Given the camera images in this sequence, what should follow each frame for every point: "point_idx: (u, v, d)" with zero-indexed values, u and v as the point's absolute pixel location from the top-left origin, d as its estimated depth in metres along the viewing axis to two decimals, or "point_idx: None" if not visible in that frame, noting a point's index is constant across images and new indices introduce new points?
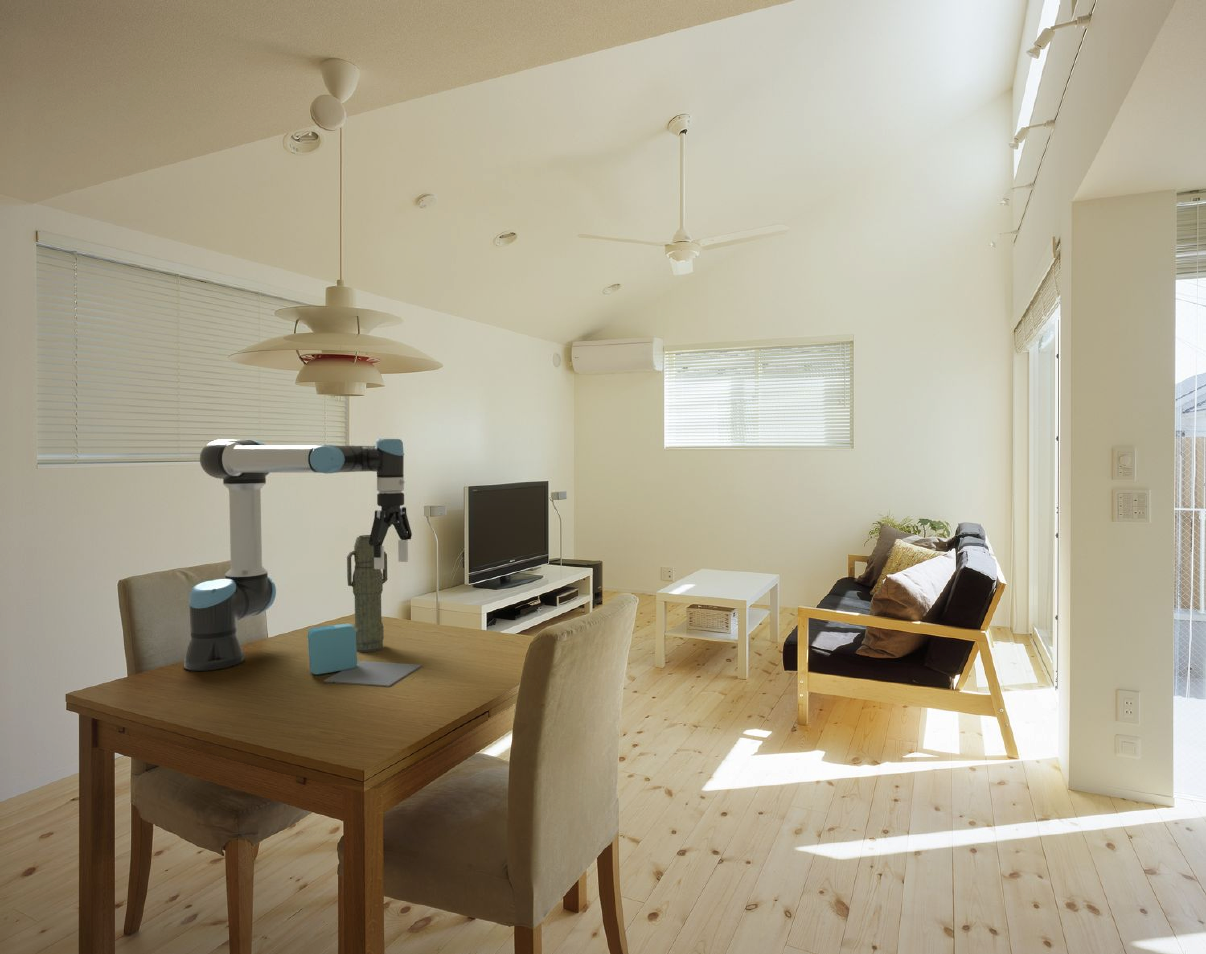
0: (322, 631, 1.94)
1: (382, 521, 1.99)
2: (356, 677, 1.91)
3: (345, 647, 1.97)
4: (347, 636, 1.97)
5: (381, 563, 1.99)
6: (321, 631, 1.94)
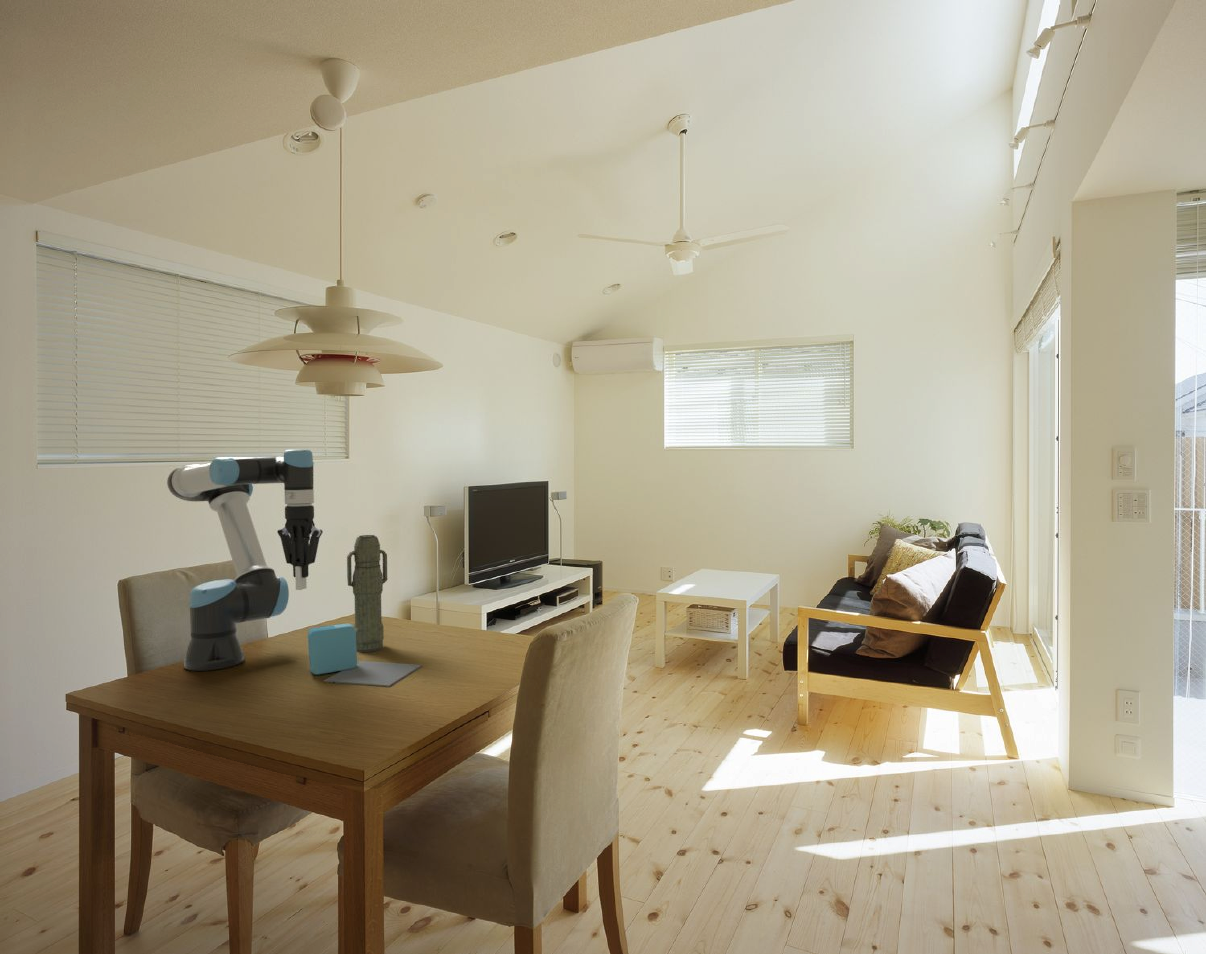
0: (322, 631, 1.94)
1: (282, 540, 1.99)
2: (356, 677, 1.91)
3: (345, 647, 1.97)
4: (347, 636, 1.97)
5: None
6: (321, 631, 1.94)
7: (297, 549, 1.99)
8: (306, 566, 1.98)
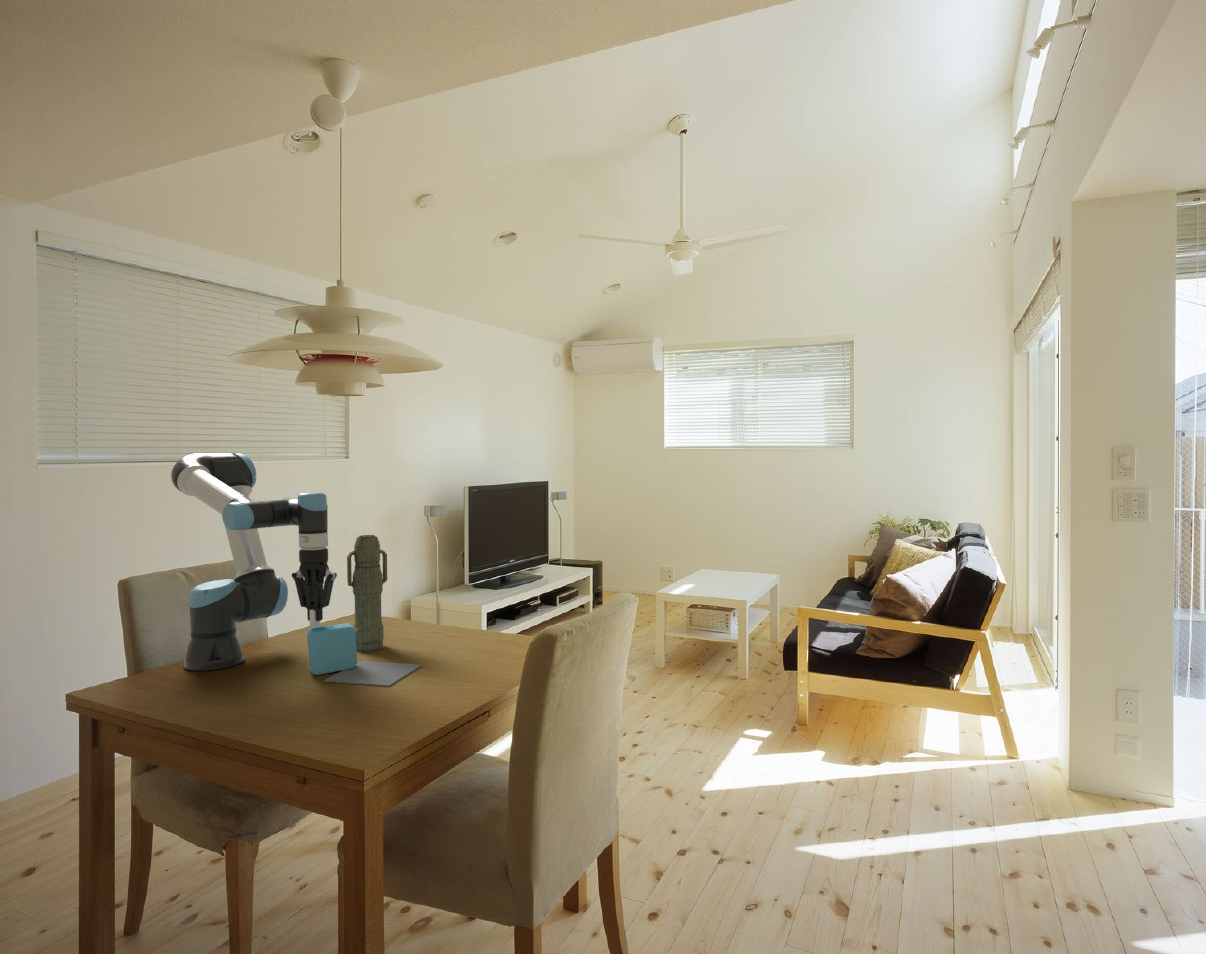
0: (322, 632, 1.94)
1: (297, 583, 1.98)
2: (356, 677, 1.91)
3: (345, 648, 1.97)
4: (347, 637, 1.97)
5: None
6: (321, 632, 1.94)
7: (311, 592, 1.98)
8: (320, 609, 1.98)
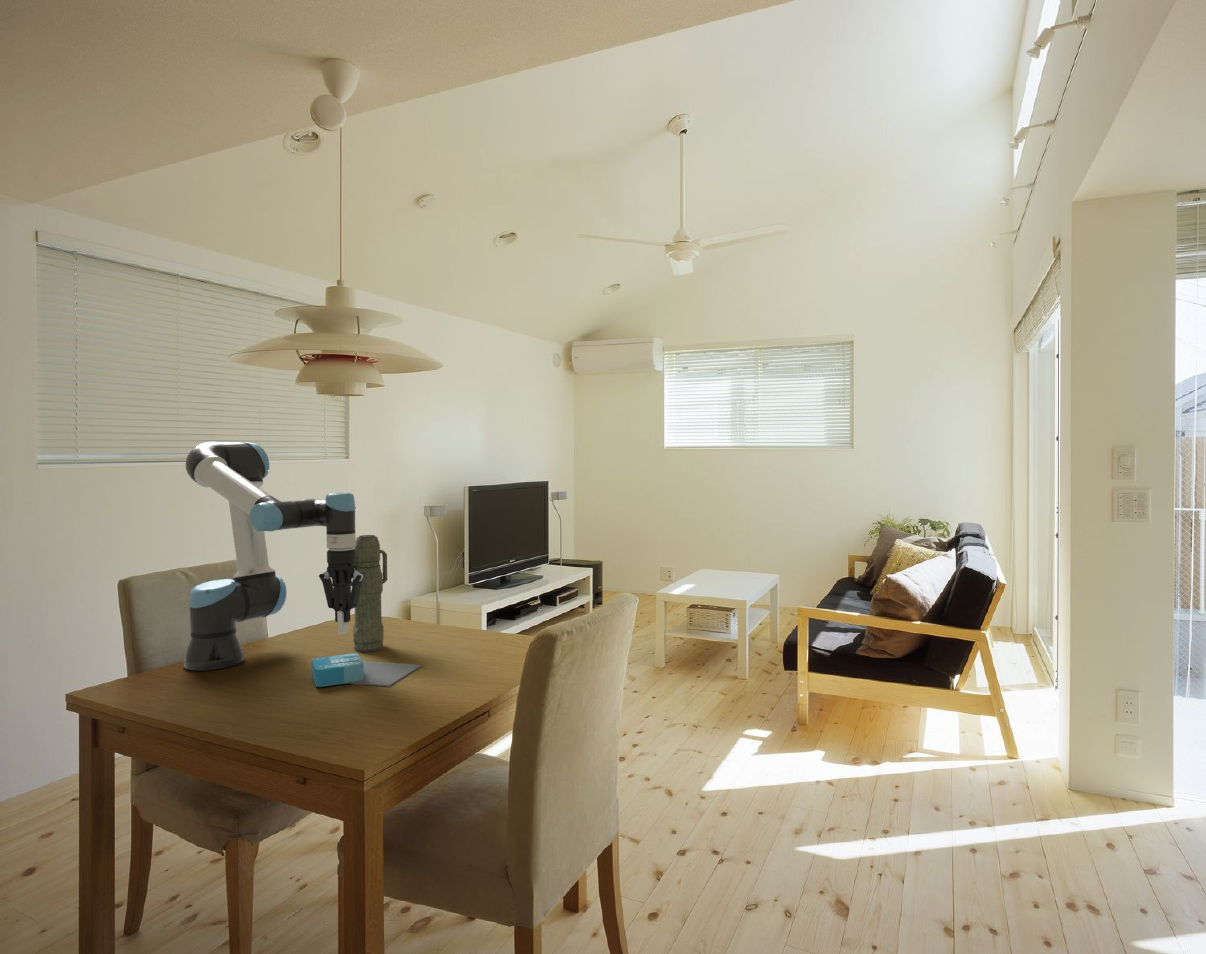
0: None
1: (324, 584, 1.96)
2: None
3: None
4: None
5: None
6: None
7: (339, 593, 1.96)
8: (348, 611, 1.96)
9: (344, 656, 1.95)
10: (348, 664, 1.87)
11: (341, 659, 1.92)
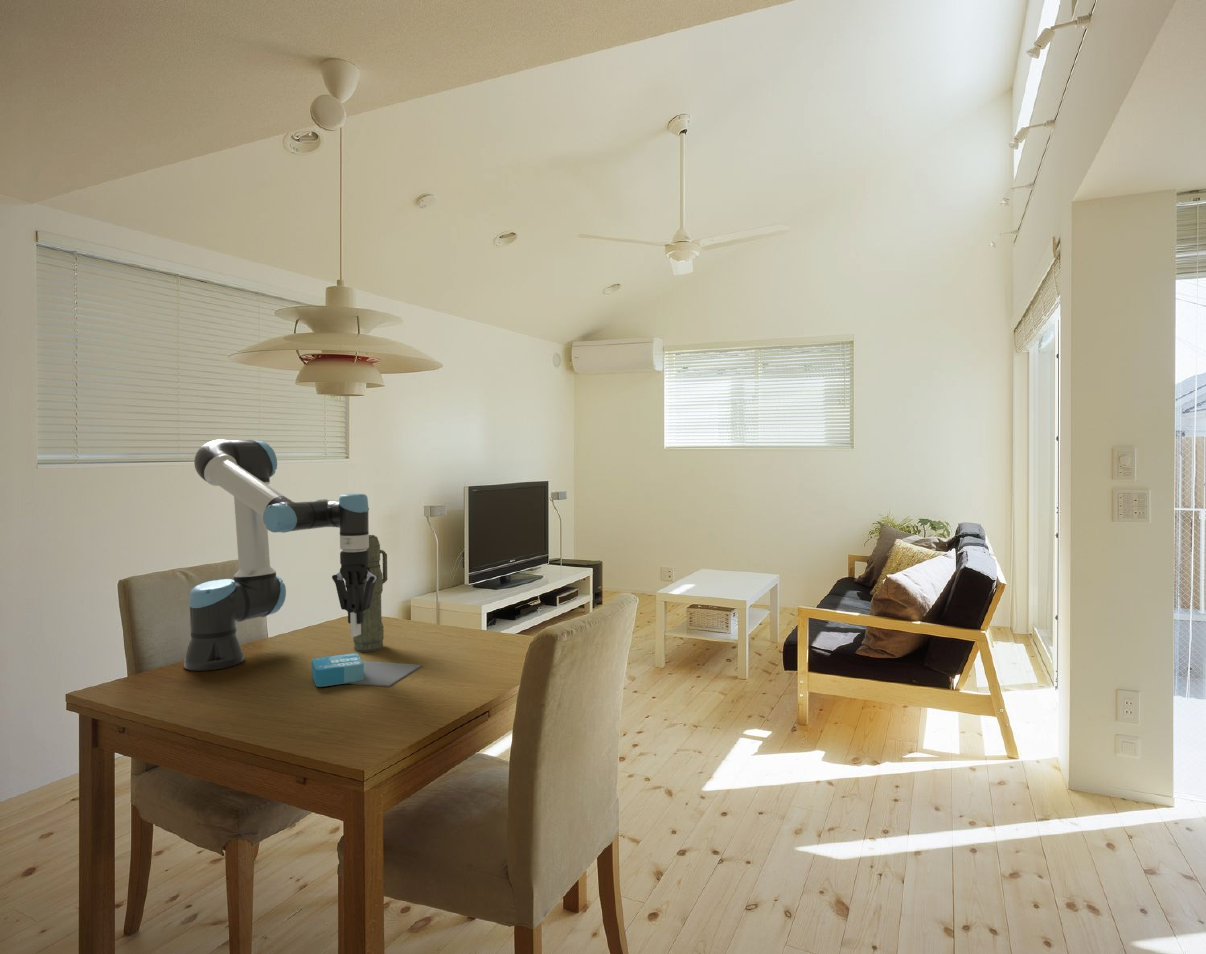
0: None
1: (337, 585, 1.95)
2: None
3: None
4: None
5: None
6: None
7: (352, 595, 1.95)
8: (361, 612, 1.95)
9: (344, 656, 1.95)
10: (348, 664, 1.87)
11: (341, 659, 1.92)
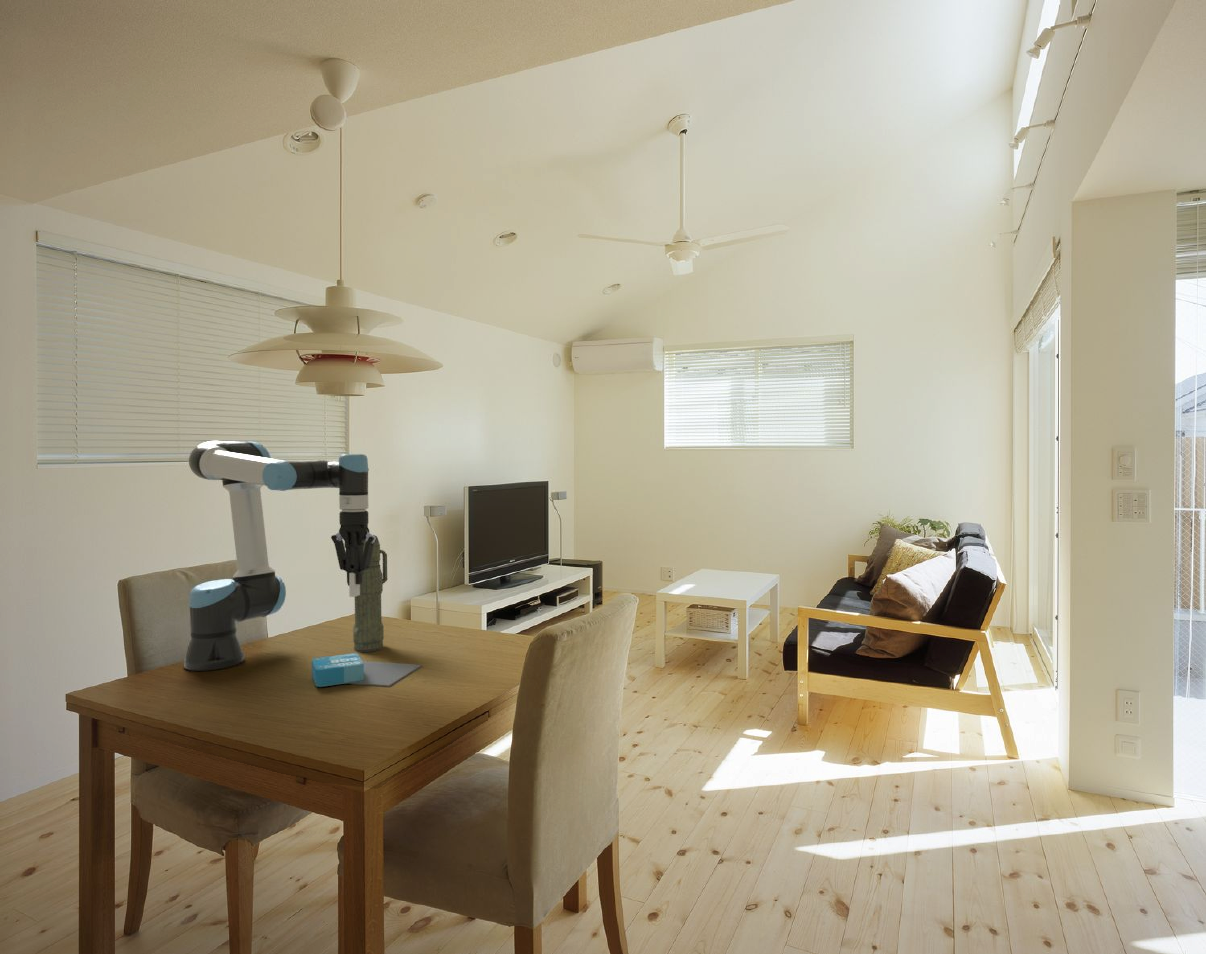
0: None
1: (336, 545, 1.95)
2: None
3: None
4: None
5: None
6: None
7: (351, 555, 1.95)
8: (360, 573, 1.95)
9: (344, 656, 1.95)
10: (348, 664, 1.87)
11: (341, 659, 1.92)
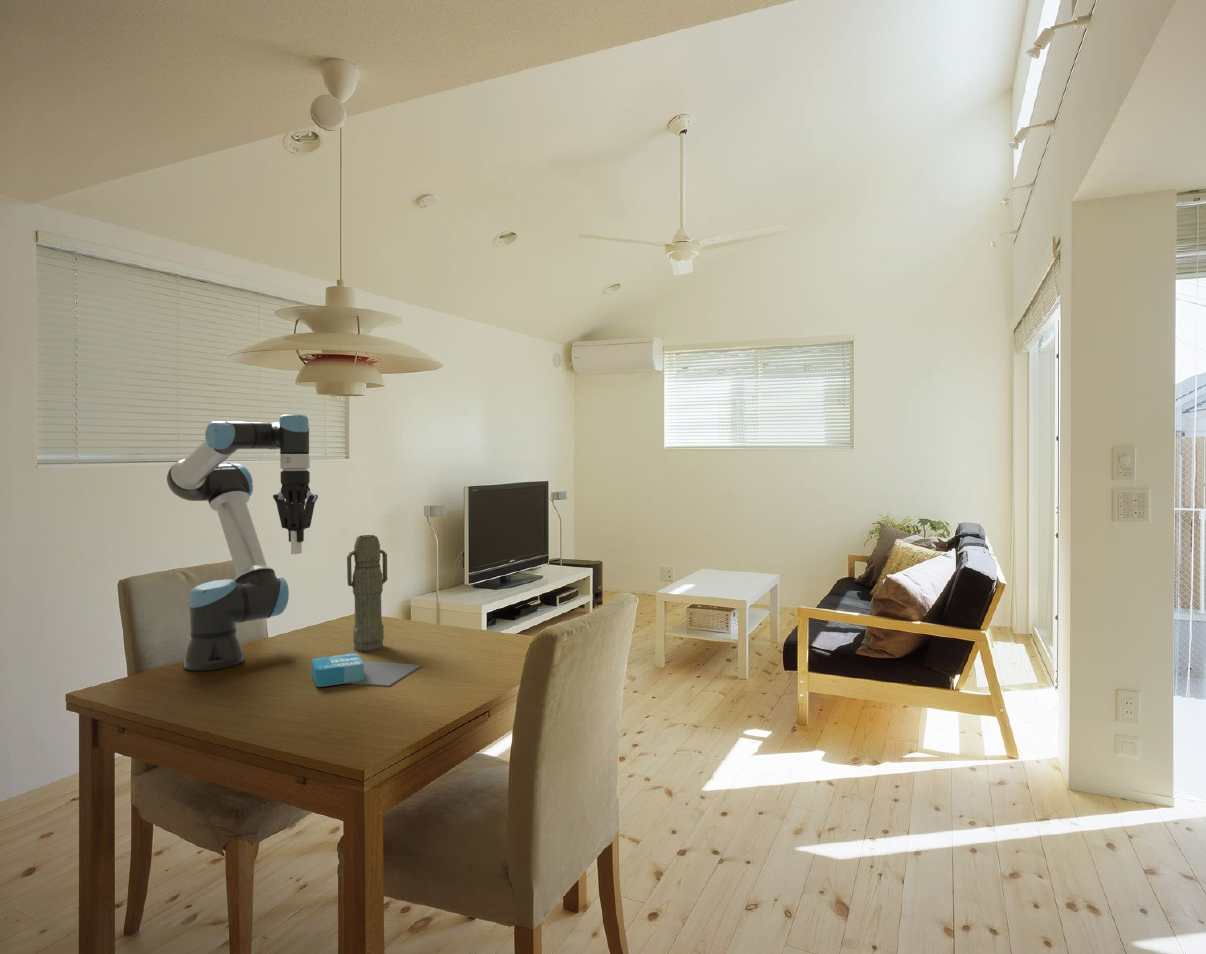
0: None
1: (278, 504, 2.00)
2: None
3: None
4: None
5: None
6: None
7: (292, 514, 2.00)
8: (301, 531, 2.00)
9: (344, 656, 1.95)
10: (348, 664, 1.87)
11: (341, 659, 1.92)
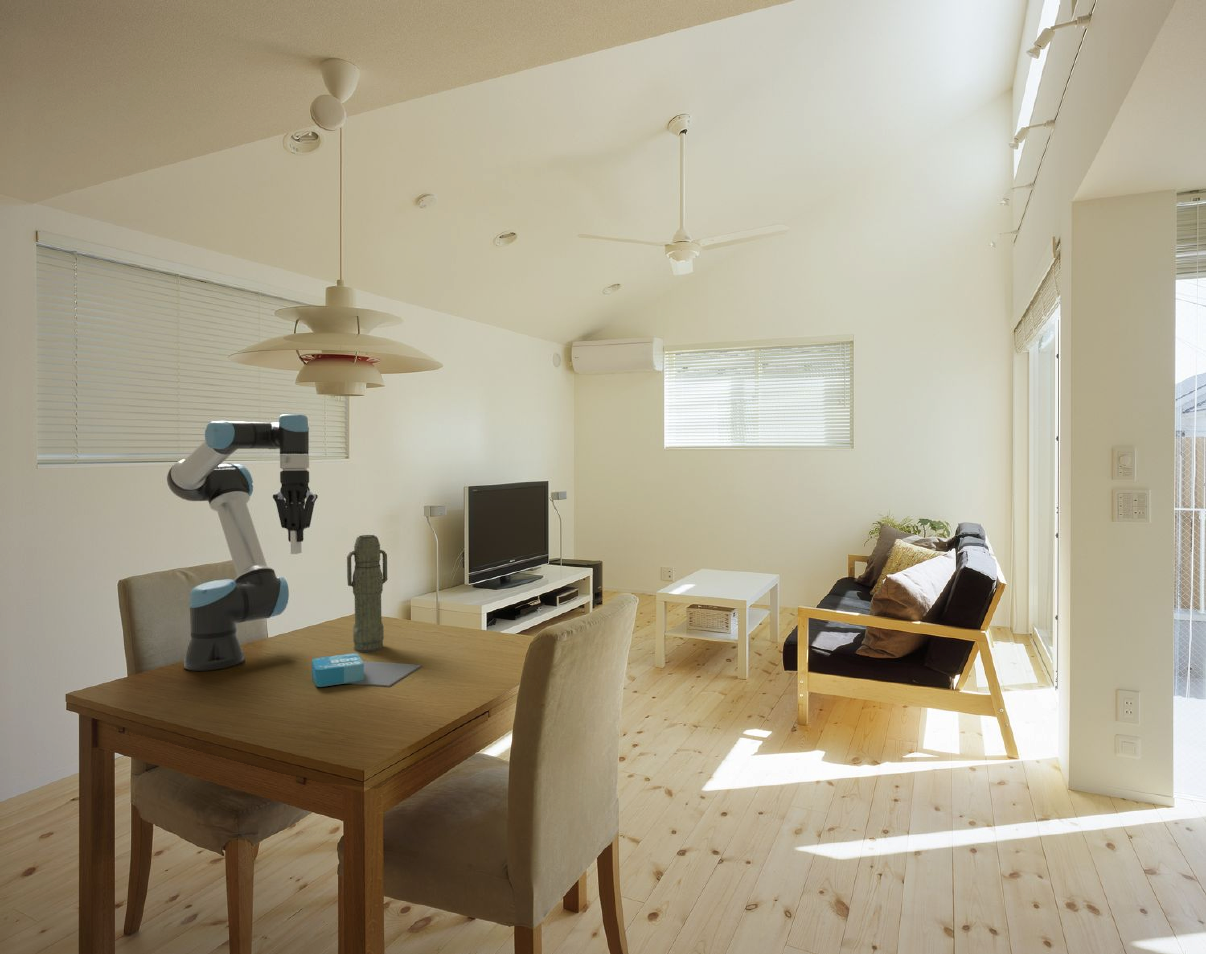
0: None
1: (278, 504, 2.00)
2: None
3: None
4: None
5: None
6: None
7: (292, 514, 2.00)
8: (301, 530, 2.00)
9: (344, 656, 1.95)
10: (348, 664, 1.87)
11: (341, 659, 1.92)
